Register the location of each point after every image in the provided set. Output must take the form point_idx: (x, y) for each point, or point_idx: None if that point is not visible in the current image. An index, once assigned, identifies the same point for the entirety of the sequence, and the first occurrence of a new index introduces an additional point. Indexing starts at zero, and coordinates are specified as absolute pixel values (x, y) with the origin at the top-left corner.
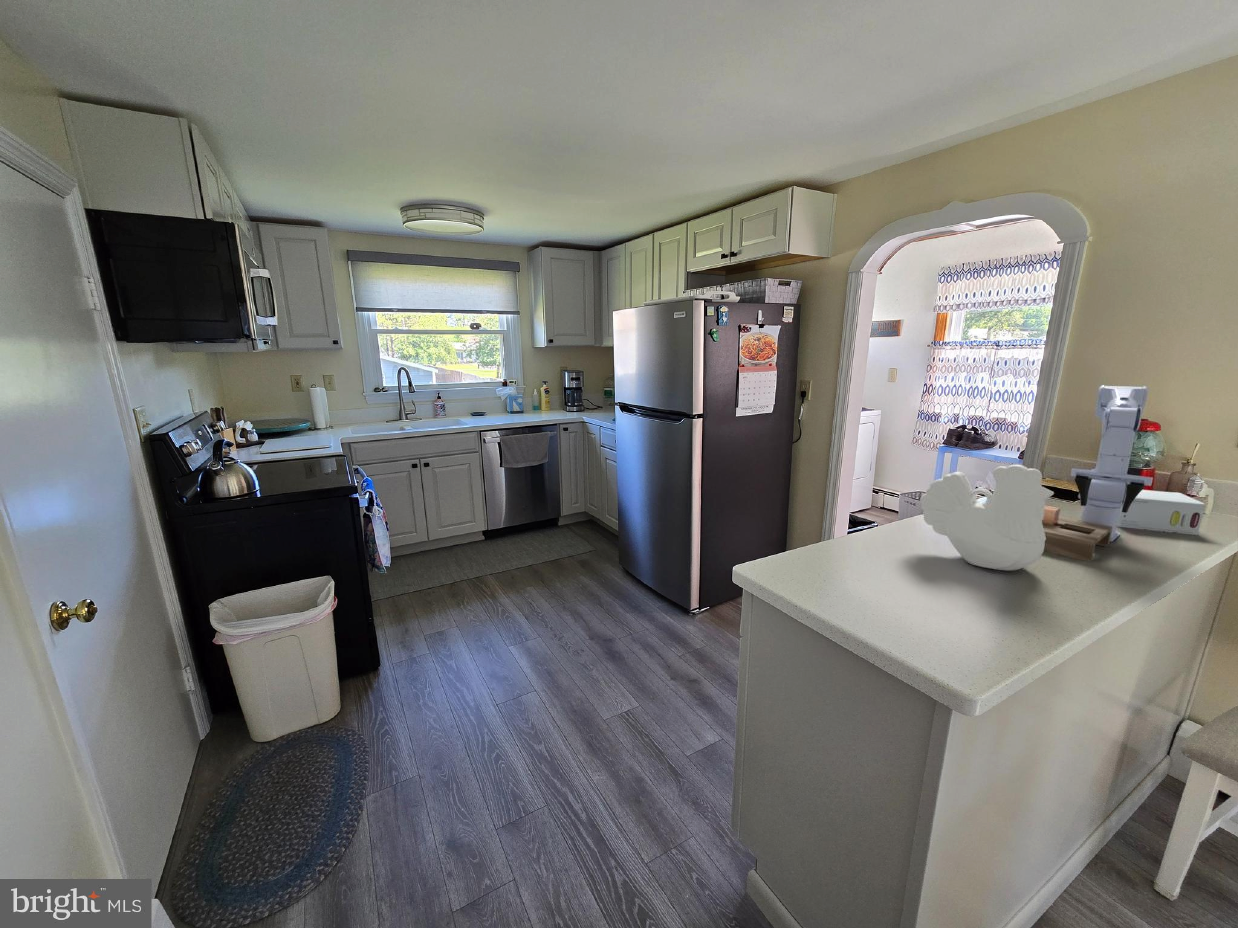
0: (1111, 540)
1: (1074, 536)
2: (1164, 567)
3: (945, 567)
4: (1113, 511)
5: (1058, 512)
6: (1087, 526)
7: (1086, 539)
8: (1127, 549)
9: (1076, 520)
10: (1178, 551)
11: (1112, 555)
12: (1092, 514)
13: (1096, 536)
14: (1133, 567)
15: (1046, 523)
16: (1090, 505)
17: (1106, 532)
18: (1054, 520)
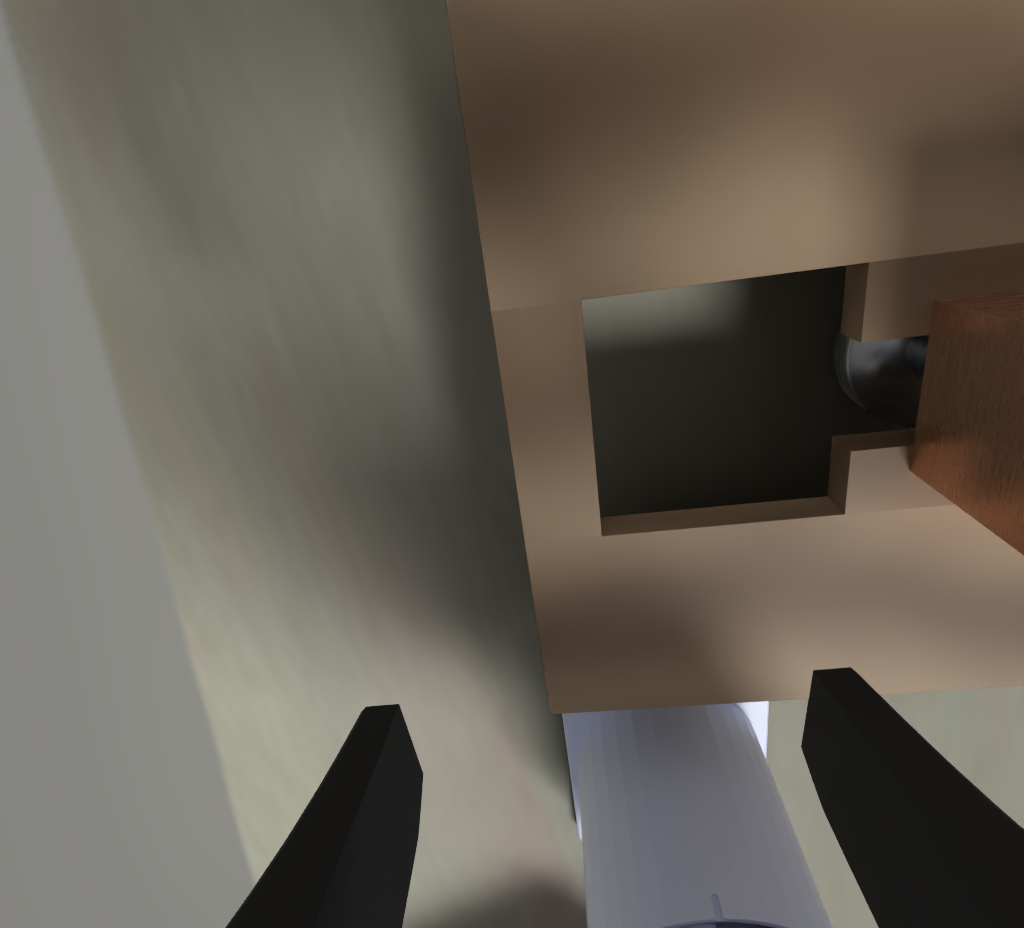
0: None
1: (654, 21)
2: (194, 428)
3: None
4: (609, 918)
5: (1008, 489)
6: (678, 572)
7: (529, 23)
8: (456, 611)
9: (791, 681)
10: (316, 774)
11: (451, 401)
12: (726, 830)
13: (515, 283)
14: (263, 233)
15: (1009, 295)
16: (782, 923)
17: (524, 536)
18: (969, 341)
